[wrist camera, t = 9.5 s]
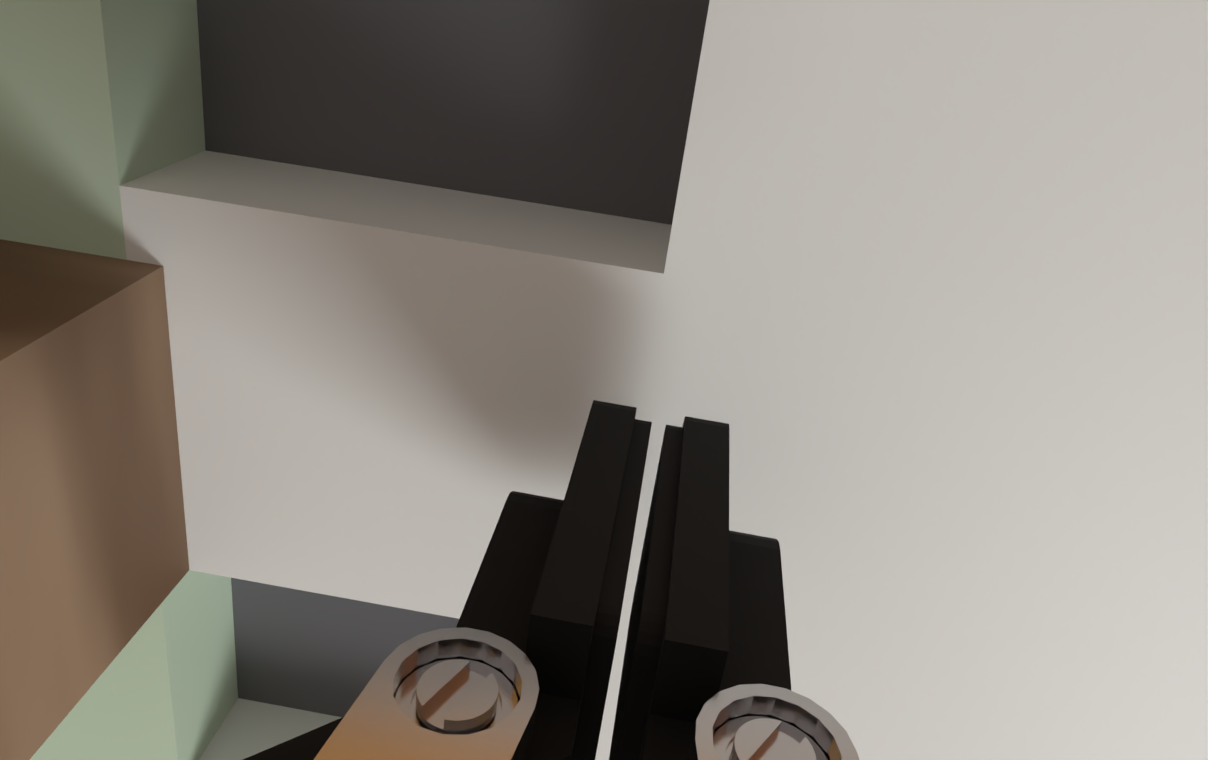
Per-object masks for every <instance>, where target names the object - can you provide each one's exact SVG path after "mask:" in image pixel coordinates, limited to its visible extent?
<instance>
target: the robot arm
mask: <svg viewBox="0 0 1208 760" xmlns="http://www.w3.org/2000/svg"><path fill="white" fill-rule="evenodd" d="M636 410H637V408H636V407H631V406H625V405H619V404H614V403H608V402H602V401H597V400H593V403H592V406H591V409H590V413H589V416H588V420H587V423H586V427H585V430H584V433H583V437H582V440H581V444H580V447H579V450H578V454H577V457H576V461H575V464H574V467H573V471H572V474H571V478H570V481H569V484H568V488H567V491H566V495H565V498H564V500H560V499H554V498H549V497H544V496H538V495H533V494H527V493H522V492H516V491H511V492H510V493H509V495H508V497H507V500H506V502H505V505H504V507H503V510H502V512H501V515H500V517H499V520H498V522H497V525H496V527H495V530H494V532H493V535H492V538H491V540H490V543H489V545H488V548H487V550H486V553H485V555H484V558H483V560H482V563H481V565H480V568H479V570H478V573H477V576H476V578H475V581H474V583H473V586H472V588H471V591H470V593H469V596H468V598H467V601H466V603H465V606H464V608H463V611H462V614H461V616H460V619H459V621H458V624H457V626H456V628H441V629H437V630H434V631H430V632H426V633H422V634H419V635H417V636H415V637H413V638H411V639H410V640H408V641H406V642H404V643H402V644H401V645H399V646H398V647H397V648H396V649H395V650H394V651H393V652H392V653H391V654H390V655H389V656H388V657H387V658H386V659H385V660H384V661H383V663H382V664H381V666H380V667H379V668H378V670H377V671H376V673H375V674H374V675H373V677H372V678H371V680H370V681H369V682H368V684H367V685H366V687H365V688H364V689H363V691H362V692H361V694H360V695H359V696H358V698H357V699H356V701H355V702H354V703H353V705H352V706H351V708H350V709H349V711H348V712H347V713H346V715H345V716H344V717H342V718H340V719H337V720H335V721H333V722H330V723H328V724H326V725H323V726H321V727H319V728H316V729H314V730H311V731H309V732H307V733H304V734H302V735H300V736H297V737H295V738H293V739H290V740H288V741H285V742H283V743H281V744H278V745H276V746H274V747H271V748H269V749H267V750H264V751H262V752H259V753H257V754H255V755H252V756H250V757H248V758H245V759H243V760H595V757H596V752H597V746H598V741H599V735H600V730H601V724H602V719H603V713H604V708H605V702H606V696H607V691H608V685H609V680H610V674H611V669H612V663H613V658H614V652H615V647H616V641H617V635H618V629H619V623H620V617H621V611H622V605H623V599H624V593H625V587H626V580H627V574H628V568H629V562H630V556H631V549H632V543H633V537H634V531H635V524H636V518H637V512H638V506H639V500H640V493H641V487H642V481H643V475H644V469H645V462H646V456H647V450H648V444H649V437H650V431H651V425H652V422H649V421H643V420H638V419H635V416H636ZM609 760H859V757H858V754H857V751H856V749H855V747H854V745H853V743H852V741H851V739H850V737H849V735H848V733H847V731H846V730H845V729H844V728H843V727H842V726H841V725H840V724H839V723H838V721H837V720H836V719H835V718H834V717H833V716H832V715H831V714H830V713H829V712H828V711H826V710H825V709H823V708H822V707H821V706H819V705H818V704H816V703H815V702H814V701H812V700H811V699H809V698H807V697H805V696H802V695H800V694H798V693H795V692H793V691H791V678H790V666H789V653H788V640H787V628H786V615H785V603H784V590H783V578H782V565H781V552H780V545H779V541H778V540H777V539H774V538H768V537H763V536H757V535H752V534H746V533H741V532H735V531H730V530H729V424H727V423H721V422H716V421H710V420H704V419H699V418H693V417H687V416H685V418H684V422H683V426H682V427H677V426H672V425H666V427H665V431H664V436H663V442H662V447H661V452H660V458H659V463H658V469H657V474H656V479H655V485H654V490H653V495H652V501H651V506H650V511H649V517H648V522H647V527H646V533H645V538H644V543H643V549H642V554H641V559H640V565H639V570H638V575H637V581H636V586H635V592H634V597H633V603H632V608H631V614H630V620H629V627H628V634H627V640H626V647H625V654H624V661H623V667H622V674H621V681H620V688H619V695H618V701H617V708H616V715H615V722H614V729H613V735H612V742H611V749H610V756H609Z"/></svg>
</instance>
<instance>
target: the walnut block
mask: <svg viewBox="0 0 1208 760" xmlns="http://www.w3.org/2000/svg"><path fill="white" fill-rule="evenodd" d="M188 571H189V559H188V548H187V536H186V524H185V513H184V501H183V490H182V478H181V466H180V455H179V443H178V431H177V420H176V408H175V396H174V385H173V373H172V361H171V350H170V338H169V327H168V315H167V303H166V292H165V280H164V268H163V266H161V265H155V264H149V263H143V262H137V261H130V260H124V259H118V258H112V257H106V256H100V255H94V254H88V253H82V252H76V251H69V250H63V249H57V248H51V247H45V246H39V245H33V244H27V243H21V242H15V241H8V240H2V239H0V760H30V759H31V757H32V756H33V755H34V754H35V753H36V752H37V750H38V749H39V748H40V747H41V746H42V744H43V743H44V742H45V741H46V740H47V738H48V737H49V736H50V735H51V734H52V733H53V731H54V730H55V729H56V728H57V727H58V725H59V724H60V723H61V722H62V721H63V719H64V718H65V717H66V716H67V715H68V714H69V712H70V711H71V710H72V709H73V708H74V706H75V705H76V704H77V703H78V702H79V700H80V699H81V698H82V697H83V696H84V695H85V693H86V692H87V691H88V690H89V689H90V687H91V686H92V685H93V684H94V683H95V681H96V680H97V679H98V678H99V677H100V676H101V674H102V673H103V672H104V671H105V670H106V668H107V667H108V666H109V665H110V664H111V662H112V661H113V660H114V659H115V658H116V657H117V655H118V654H119V653H120V652H121V651H122V649H123V648H124V647H125V646H126V645H127V643H128V642H129V641H130V640H131V639H132V638H133V636H134V635H135V634H136V633H137V632H138V630H139V629H140V628H141V627H142V626H143V624H144V623H145V622H146V621H147V620H148V619H149V617H150V616H151V615H152V614H153V613H154V611H155V610H156V609H157V608H158V607H159V605H160V604H161V603H162V602H163V601H164V600H165V598H166V597H167V596H168V595H169V594H170V592H171V591H172V590H173V589H174V588H175V586H176V585H177V584H178V583H179V582H180V581H181V579H182V578H183V577H184V576H185V575H186V573H187V572H188Z"/></svg>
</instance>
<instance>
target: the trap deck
mask: <svg viewBox="0 0 1208 760" xmlns="http://www.w3.org/2000/svg"><path fill="white" fill-rule="evenodd" d="M0 239H2V240H8V241H15V242H21V243H27V244H33V245H39V246H45V247H51V248H57V249H63V250H69V251H76V252H82V253H88V254H94V255H100V256H106V257H112V258H118V259H124V260H130V261H137V262H143V263H149V264H155V265H161V266H163V268H164V280H165V292H166V303H167V315H168V327H169V338H170V350H171V361H172V373H173V385H174V396H175V408H176V420H177V431H178V443H179V455H180V466H181V478H182V490H183V501H184V513H185V524H186V536H187V548H188V559H189V571H188V572H187V573H186V575H185V576H184V577H183V578H182V579H181V581H180V582H179V583H178V584H177V585H176V586H175V588H174V589H173V590H172V591H171V592H170V594H169V595H168V596H167V597H166V598H165V600H164V601H163V602H162V603H161V604H160V605H159V607H158V608H157V609H156V610H155V611H154V613H153V614H152V615H151V616H150V617H149V619H148V620H147V621H146V622H145V623H144V624H143V626H142V627H141V628H140V629H139V630H138V632H137V633H136V634H135V635H134V636H133V638H132V639H131V640H130V641H129V642H128V643H127V645H126V646H125V647H124V648H123V649H122V651H121V652H120V653H119V654H118V655H117V657H116V658H115V659H114V660H113V661H112V662H111V664H110V665H109V666H108V667H107V668H106V670H105V671H104V672H103V673H102V674H101V676H100V677H99V678H98V679H97V680H96V681H95V683H94V684H93V685H92V686H91V687H90V689H89V690H88V691H87V692H86V693H85V695H84V696H83V697H82V698H81V699H80V700H79V702H78V703H77V704H76V705H75V706H74V708H73V709H72V710H71V711H70V712H69V714H68V715H67V716H66V717H65V718H64V719H63V721H62V722H61V723H60V724H59V725H58V727H57V728H56V729H55V730H54V731H53V733H52V734H51V735H50V736H49V737H48V738H47V740H46V741H45V742H44V743H43V744H42V746H41V747H40V748H39V749H38V750H37V752H36V753H35V754H34V755H33V756H32V757H31V759H30V760H243V759H245V758H248V757H250V756H252V755H255V754H257V753H259V752H262V751H264V750H267V749H269V748H271V747H274V746H276V745H278V744H281V743H283V742H285V741H288V740H290V739H293V738H295V737H297V736H300V735H302V734H304V733H307V732H309V731H311V730H314V729H316V728H319V727H321V726H323V725H326V724H328V723H330V722H333V721H335V720H337V719H340V718H342V717H344V716H345V715H346V713H347V712H348V711H349V709H350V708H351V706H352V705H353V703H354V702H355V701H356V699H357V698H358V696H359V695H360V694H361V692H362V691H363V689H364V688H365V687H366V685H367V684H368V682H369V681H370V680H371V678H372V677H373V675H374V674H375V673H376V671H377V670H378V668H379V667H380V666H381V664H382V663H383V661H384V660H385V659H386V658H387V657H388V656H389V655H390V654H391V653H392V652H393V651H394V650H395V649H396V648H397V647H398V646H399V645H401V644H402V643H404V642H406V641H408V640H410V639H411V638H413V637H415V636H417V635H419V634H422V633H426V632H430V631H434V630H437V629H441V628H456V626H457V624H458V621H459V619H460V616H461V614H462V611H463V608H464V606H465V603H466V601H467V598H468V596H469V593H470V591H471V588H472V586H473V583H474V581H475V578H476V576H477V573H478V570H479V568H480V565H481V563H482V560H483V558H484V555H485V553H486V550H487V548H488V545H489V543H490V540H491V538H492V535H493V532H494V530H495V527H496V525H497V522H498V520H499V517H500V515H501V512H502V510H503V507H504V505H505V502H506V500H507V497H508V495H509V493H510V492H511V491H516V492H522V493H527V494H533V495H538V496H544V497H549V498H554V499H560V500H564V498H565V495H566V491H567V488H568V484H569V481H570V478H571V474H572V471H573V467H574V464H575V461H576V457H577V454H578V450H579V447H580V444H581V440H582V437H583V433H584V430H585V427H586V423H587V420H588V416H589V413H590V409H591V406H592V403H593V400H597V401H602V402H608V403H614V404H619V405H625V406H631V407H636V408H637V410H636V416H635V419H638V420H643V421H649V422H652V425H651V431H650V437H649V444H648V450H647V456H646V462H645V469H644V475H643V481H642V487H641V493H640V500H639V506H638V512H637V518H636V524H635V531H634V537H633V543H632V549H631V556H630V562H629V568H628V574H627V580H626V587H625V593H624V599H623V605H622V611H621V617H620V623H619V629H618V635H617V641H616V647H615V652H614V658H613V663H612V669H611V674H610V680H609V685H608V691H607V696H606V702H605V708H604V713H603V719H602V724H601V730H600V735H599V741H598V746H597V752H596V757H595V760H609V756H610V749H611V742H612V735H613V729H614V722H615V715H616V708H617V701H618V695H619V688H620V681H621V674H622V667H623V661H624V654H625V647H626V640H627V634H628V627H629V620H630V614H631V608H632V603H633V597H634V592H635V586H636V581H637V575H638V570H639V565H640V559H641V554H642V549H643V543H644V538H645V533H646V527H647V522H648V517H649V511H650V506H651V501H652V495H653V490H654V485H655V479H656V474H657V469H658V463H659V458H660V452H661V447H662V442H663V436H664V431H665V427H666V425H672V426H677V427H682V426H683V422H684V418H685V416H687V417H693V418H699V419H704V420H710V421H716V422H721V423H727V424H729V530H730V531H735V532H741V533H746V534H752V535H757V536H763V537H768V538H774V539H777V540H778V541H779V545H780V552H781V565H782V578H783V590H784V603H785V615H786V628H787V640H788V653H789V666H790V678H791V691H793V692H795V693H798V694H800V695H802V696H805V697H807V698H809V699H811V700H812V701H814V702H815V703H816V704H818V705H819V706H821V707H822V708H823V709H825V710H826V711H828V712H829V713H830V714H831V715H832V716H833V717H834V718H835V719H836V720H837V721H838V723H839V724H840V725H841V726H842V727H843V728H844V729H845V730H846V731H847V733H848V735H849V737H850V739H851V741H852V743H853V745H854V747H855V749H856V751H857V754H858V757H859V760H1208V0H0Z"/></svg>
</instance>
